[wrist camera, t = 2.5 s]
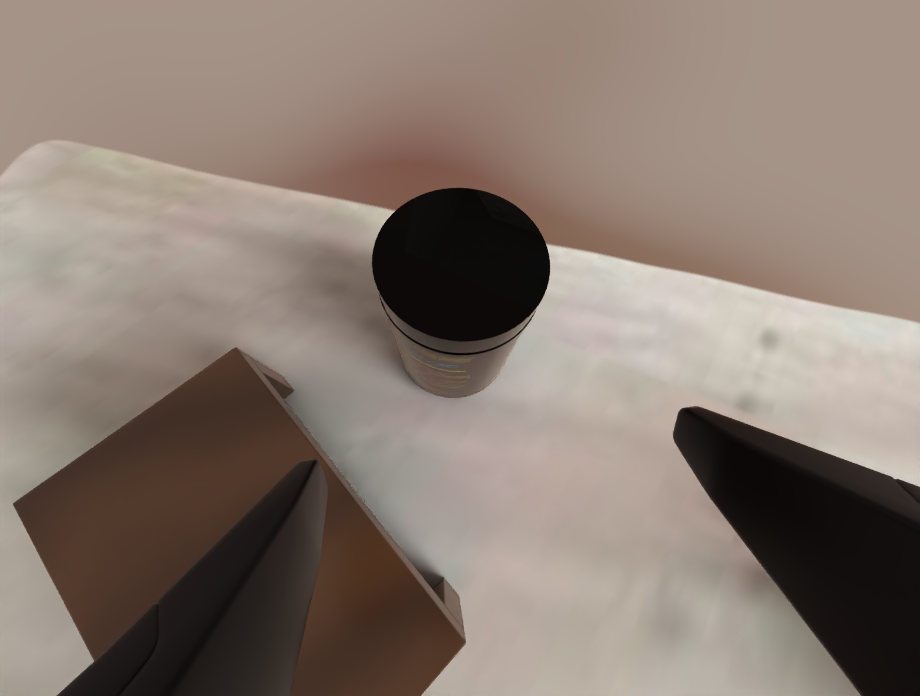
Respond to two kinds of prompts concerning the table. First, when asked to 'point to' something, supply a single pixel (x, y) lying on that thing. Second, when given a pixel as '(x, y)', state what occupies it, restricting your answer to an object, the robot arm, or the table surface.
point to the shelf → (215, 512)
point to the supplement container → (459, 285)
